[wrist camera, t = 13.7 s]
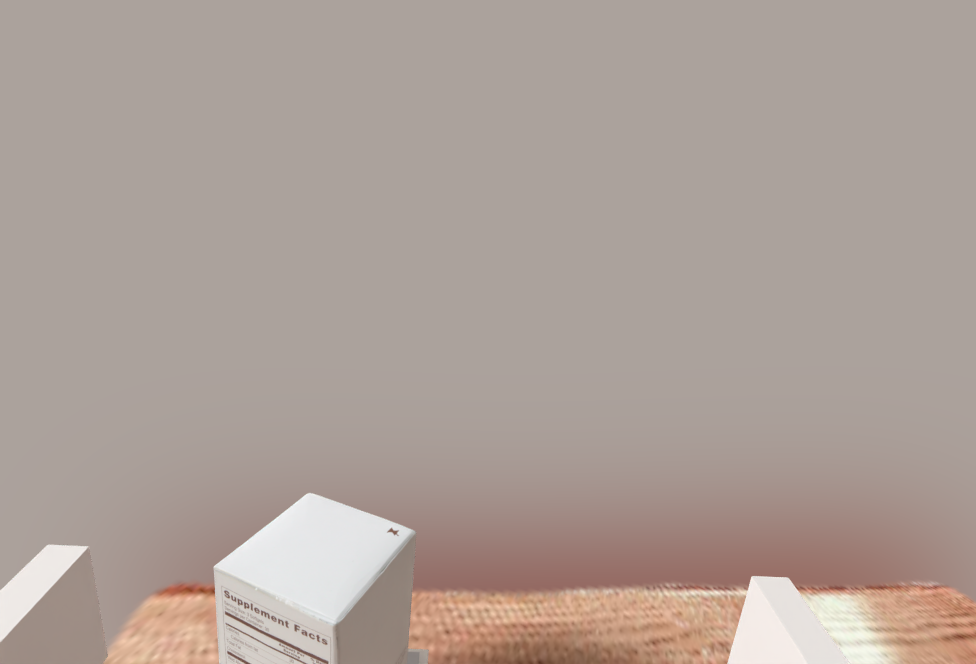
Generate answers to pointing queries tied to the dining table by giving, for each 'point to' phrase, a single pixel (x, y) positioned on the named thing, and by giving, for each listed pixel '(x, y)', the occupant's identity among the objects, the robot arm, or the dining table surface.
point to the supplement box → (317, 589)
